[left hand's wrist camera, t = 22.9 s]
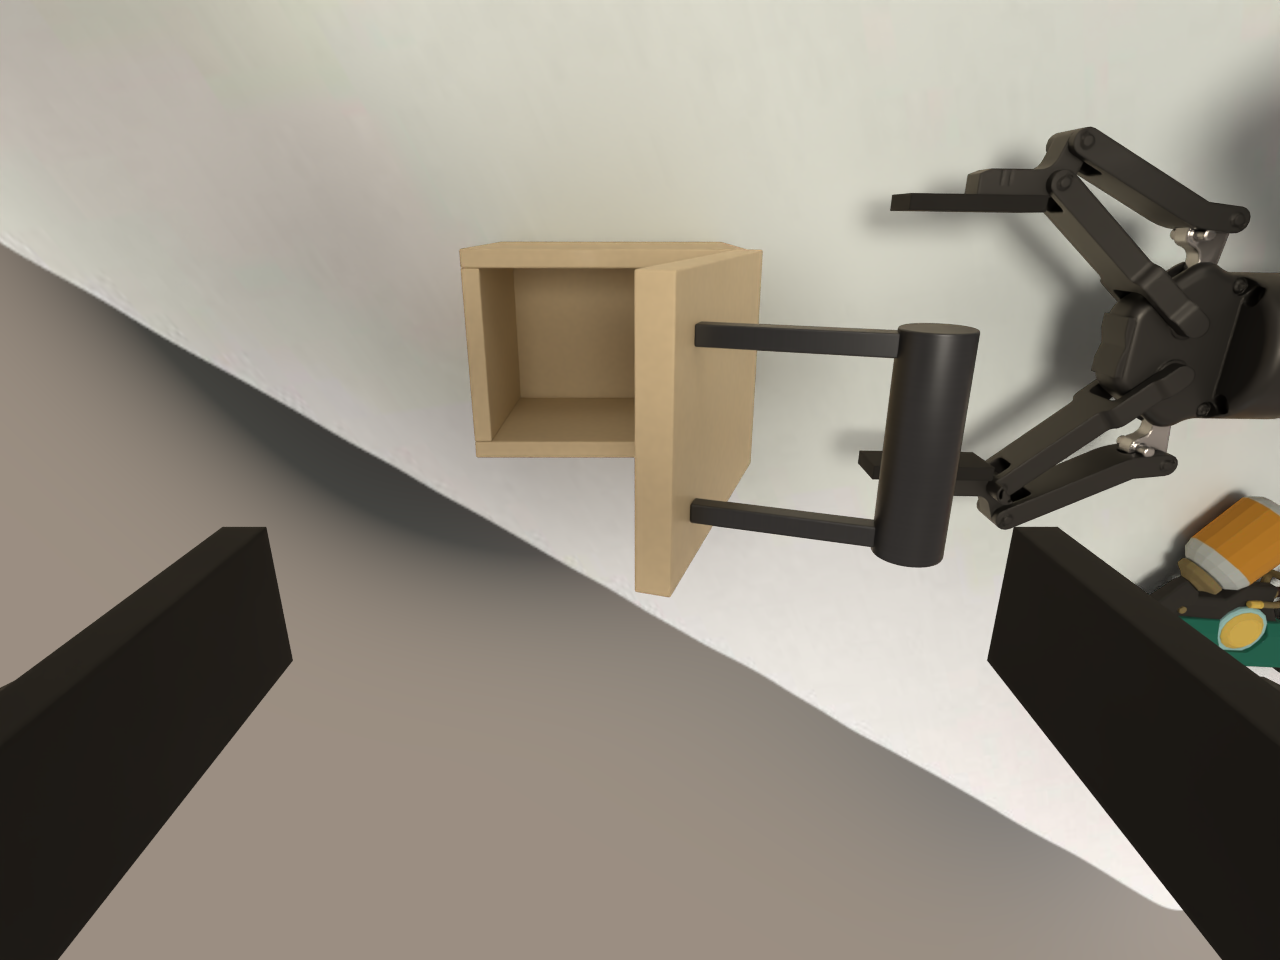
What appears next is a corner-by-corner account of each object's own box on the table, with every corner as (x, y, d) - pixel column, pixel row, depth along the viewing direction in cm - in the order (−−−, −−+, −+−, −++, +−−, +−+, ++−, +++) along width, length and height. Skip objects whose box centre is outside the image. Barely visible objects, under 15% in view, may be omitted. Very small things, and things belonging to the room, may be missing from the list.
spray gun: (1410, 532, 49) (1263, 696, 54) (1220, 454, 46) (1084, 637, 51) (1479, 563, 45) (1314, 737, 50) (1277, 480, 42) (1124, 675, 47)
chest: (510, 407, 45) (476, 457, 36) (499, 241, 42) (458, 248, 32) (716, 407, 45) (736, 457, 36) (722, 241, 42) (747, 249, 32)
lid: (634, 592, 23) (940, 643, 20) (633, 269, 19) (1002, 277, 17) (726, 460, 35) (923, 481, 32) (735, 249, 32) (957, 252, 29)
